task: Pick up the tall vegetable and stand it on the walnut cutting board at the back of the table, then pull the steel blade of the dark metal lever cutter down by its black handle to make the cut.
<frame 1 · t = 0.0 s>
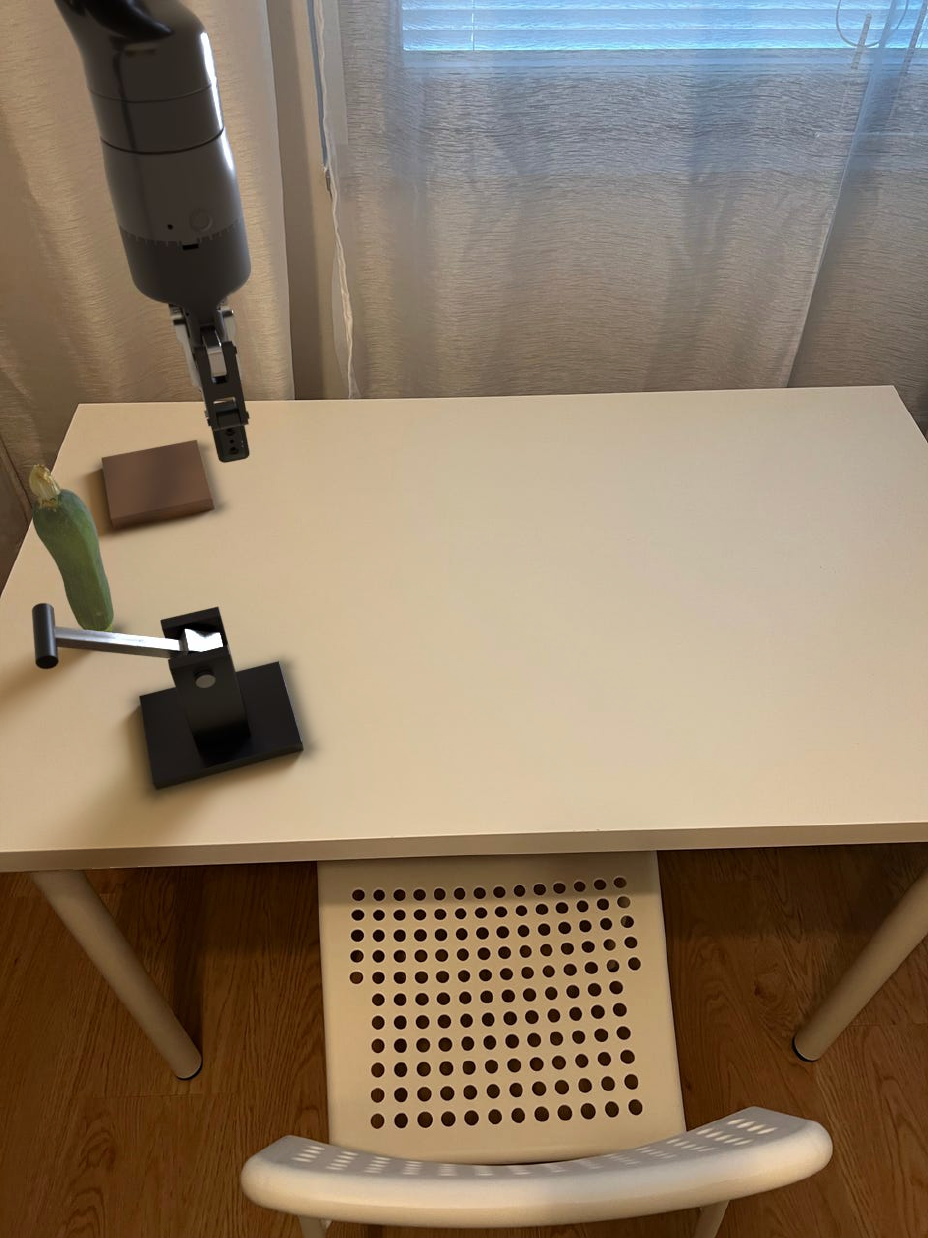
hand: (223, 422, 69), 23 cm above the table, tool pointing down, fingers open, 8 cm apart
board: (158, 488, 98), on the table
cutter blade: (130, 644, 68), point 13 cm above the table, hinge at 30.0°
vegetable: (107, 630, 86), on the table
cutter: (221, 727, 79), on the table
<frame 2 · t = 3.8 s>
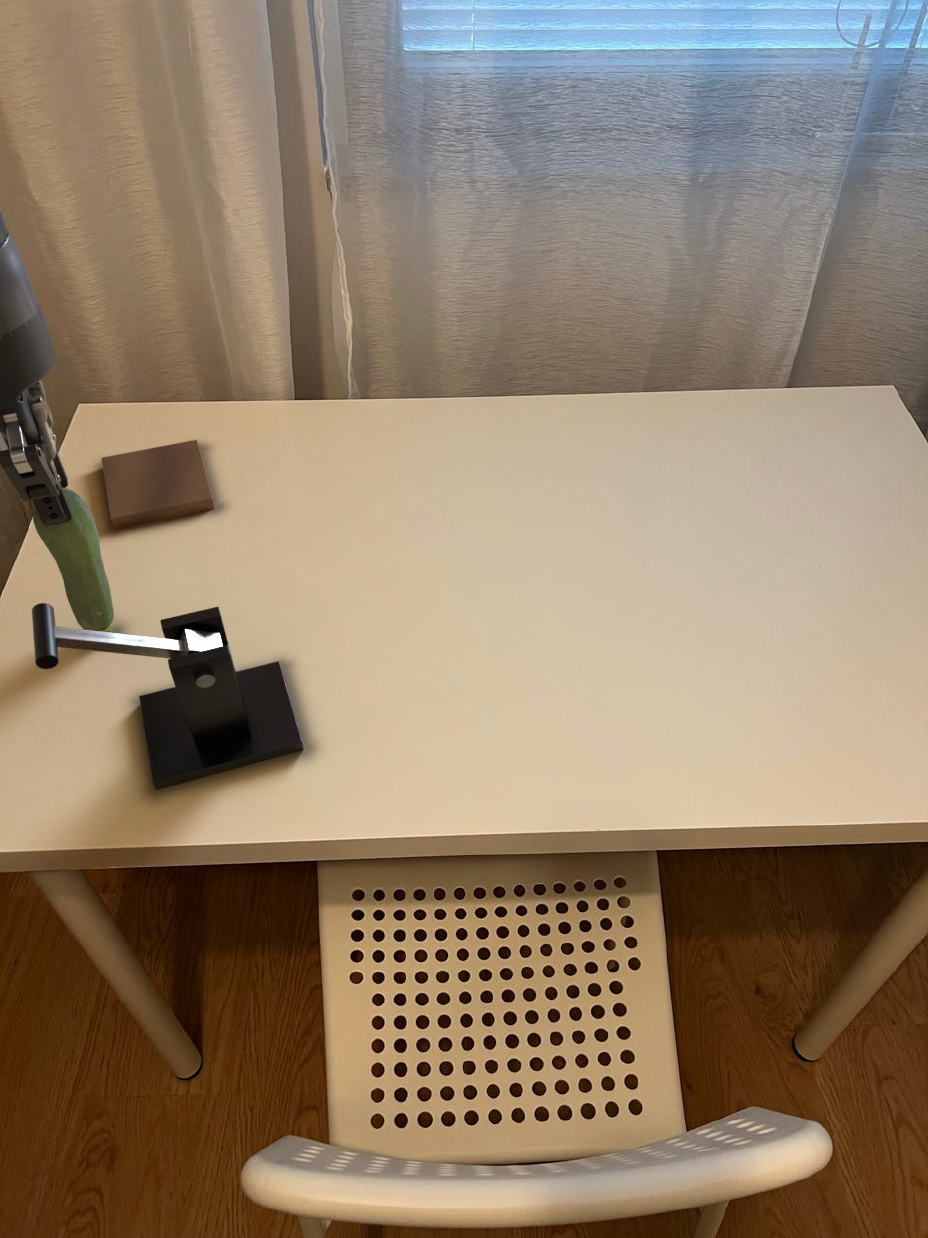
hand: (56, 503, 74), 15 cm above the table, tool pointing down, fingers closed on vegetable, 3 cm apart
vegetable: (107, 630, 86), on the table, touching gripper
everything else where it was.
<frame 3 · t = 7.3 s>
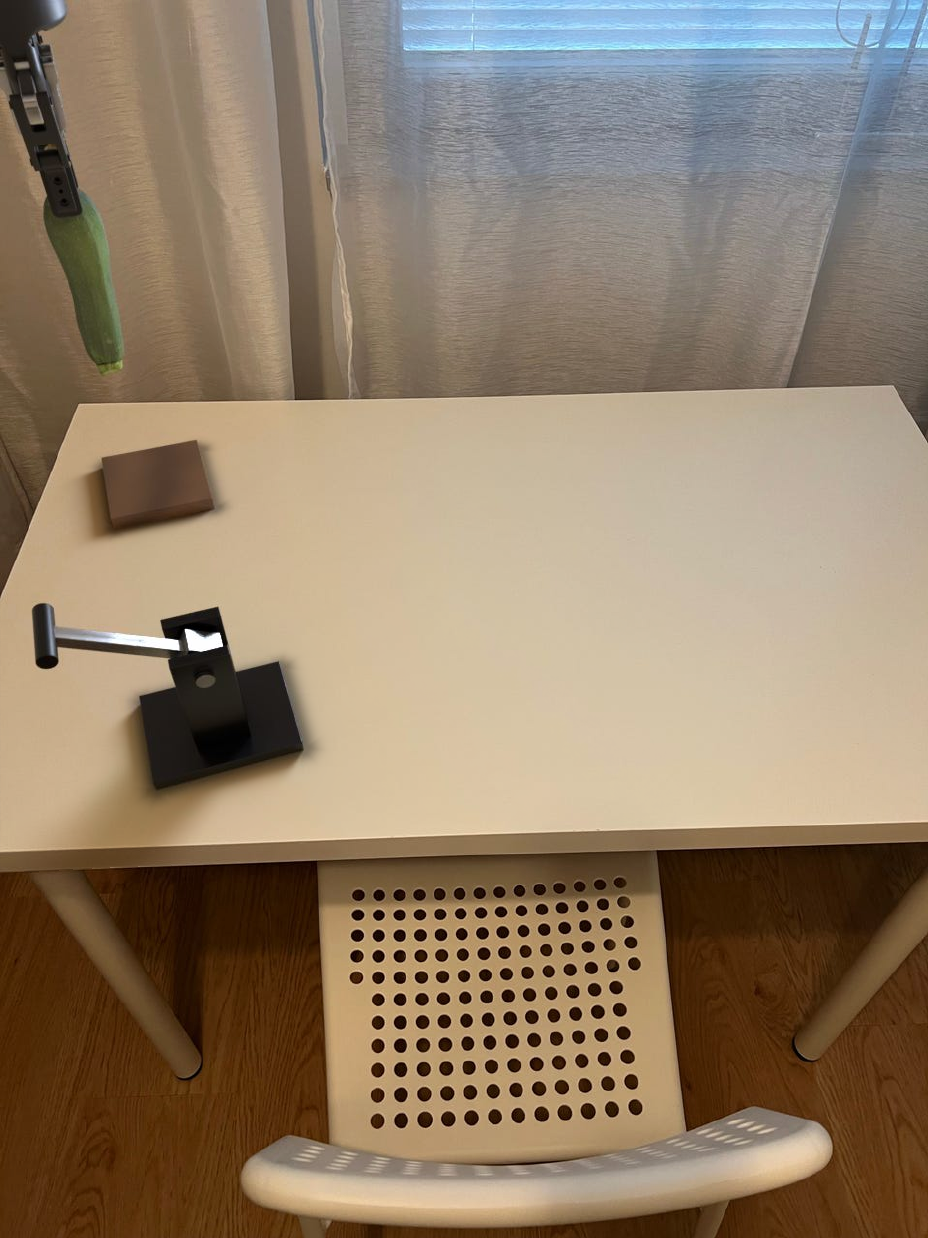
hand: (66, 201, 73), 31 cm above the table, tool pointing down, fingers closed on vegetable, 3 cm apart
vegetable: (117, 370, 85), point 16 cm above the table, touching gripper
everything else where it was.
when the fingers open (17 cm above the table, at t = 10.9 s): vegetable stays where it is, resting on board.
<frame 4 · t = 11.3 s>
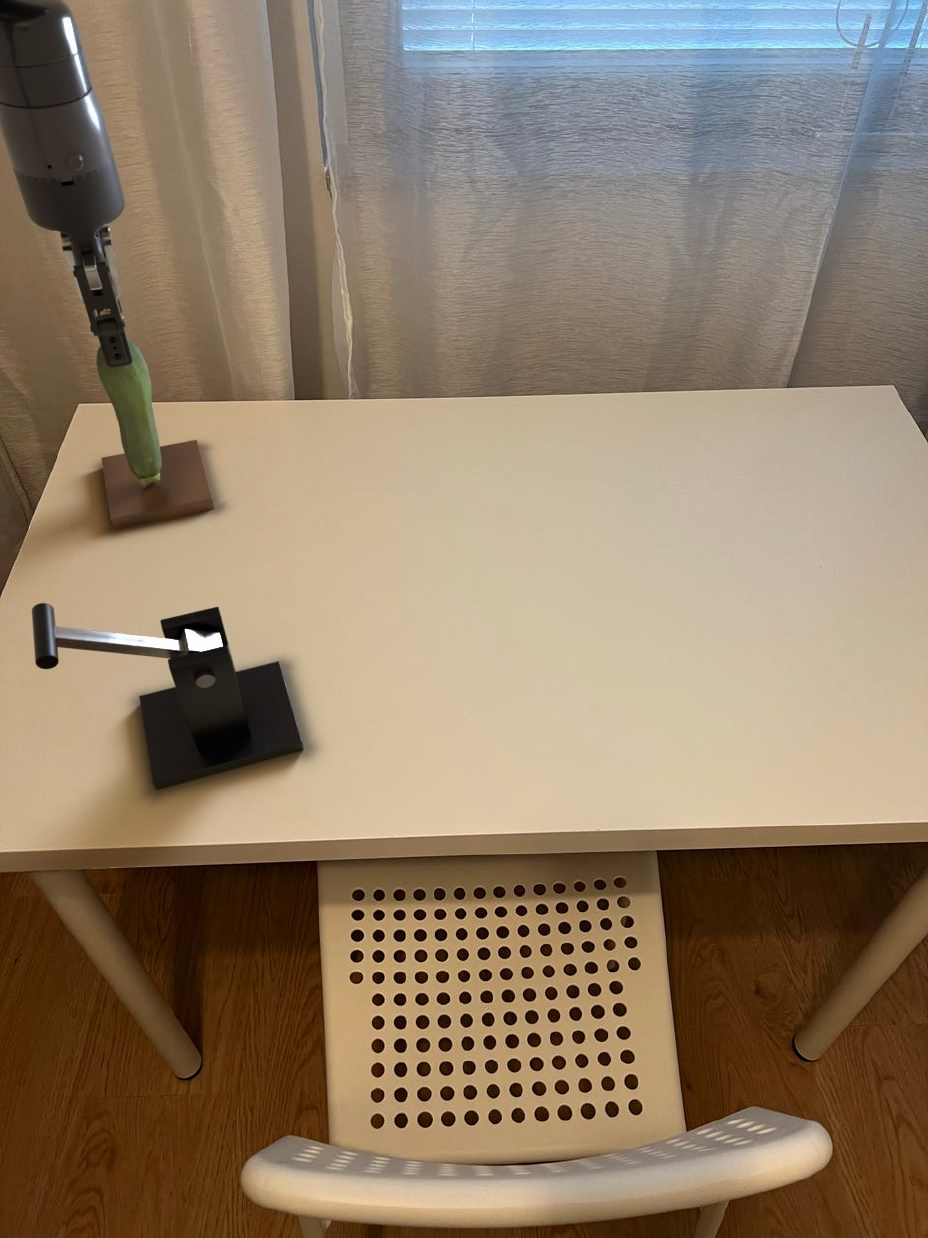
hand: (115, 338, 85), 18 cm above the table, tool pointing down, fingers open, 8 cm apart
vegetable: (155, 480, 97), point 1 cm above the table, touching board
everything else where it was.
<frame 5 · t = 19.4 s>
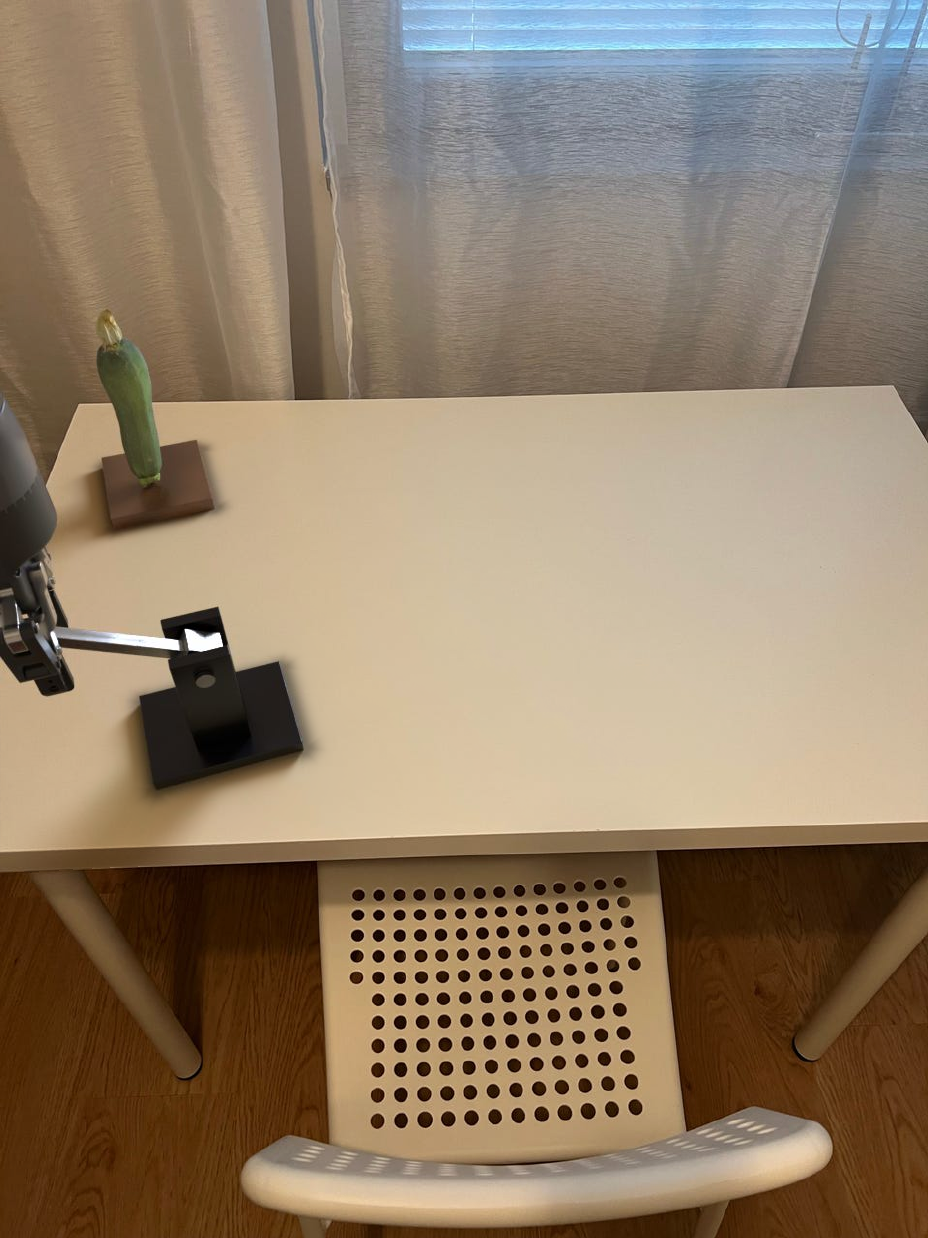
hand: (56, 658, 67), 13 cm above the table, tool pointing down, fingers closed on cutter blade, 5 cm apart
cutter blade: (130, 644, 68), point 13 cm above the table, hinge at 30.0°, touching gripper
everything else where it was.
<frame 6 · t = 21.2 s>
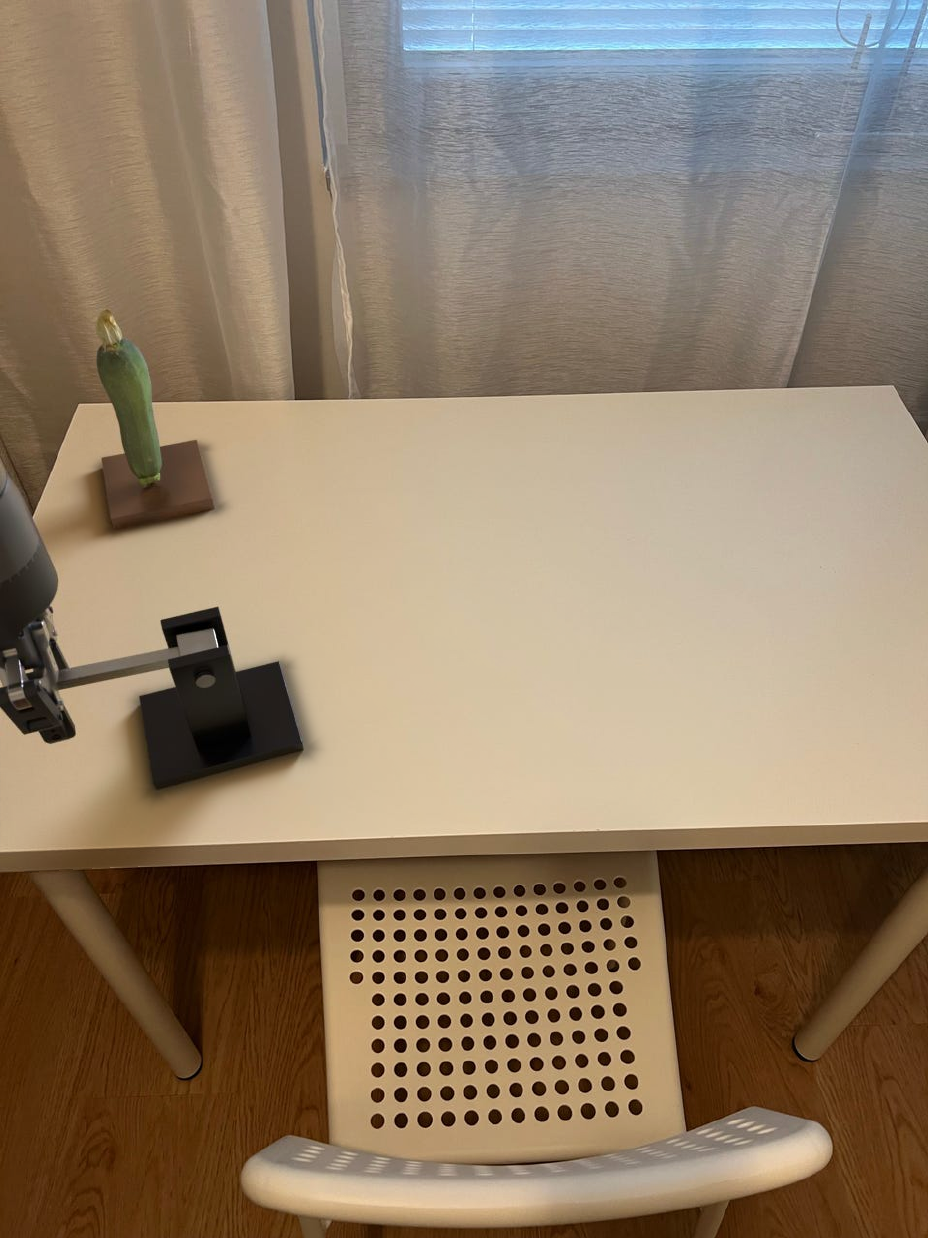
hand: (58, 706, 70), 8 cm above the table, tool pointing down, fingers closed on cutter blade, 5 cm apart
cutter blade: (128, 666, 70), point 10 cm above the table, hinge at 3.5°, touching gripper
everything else where it was.
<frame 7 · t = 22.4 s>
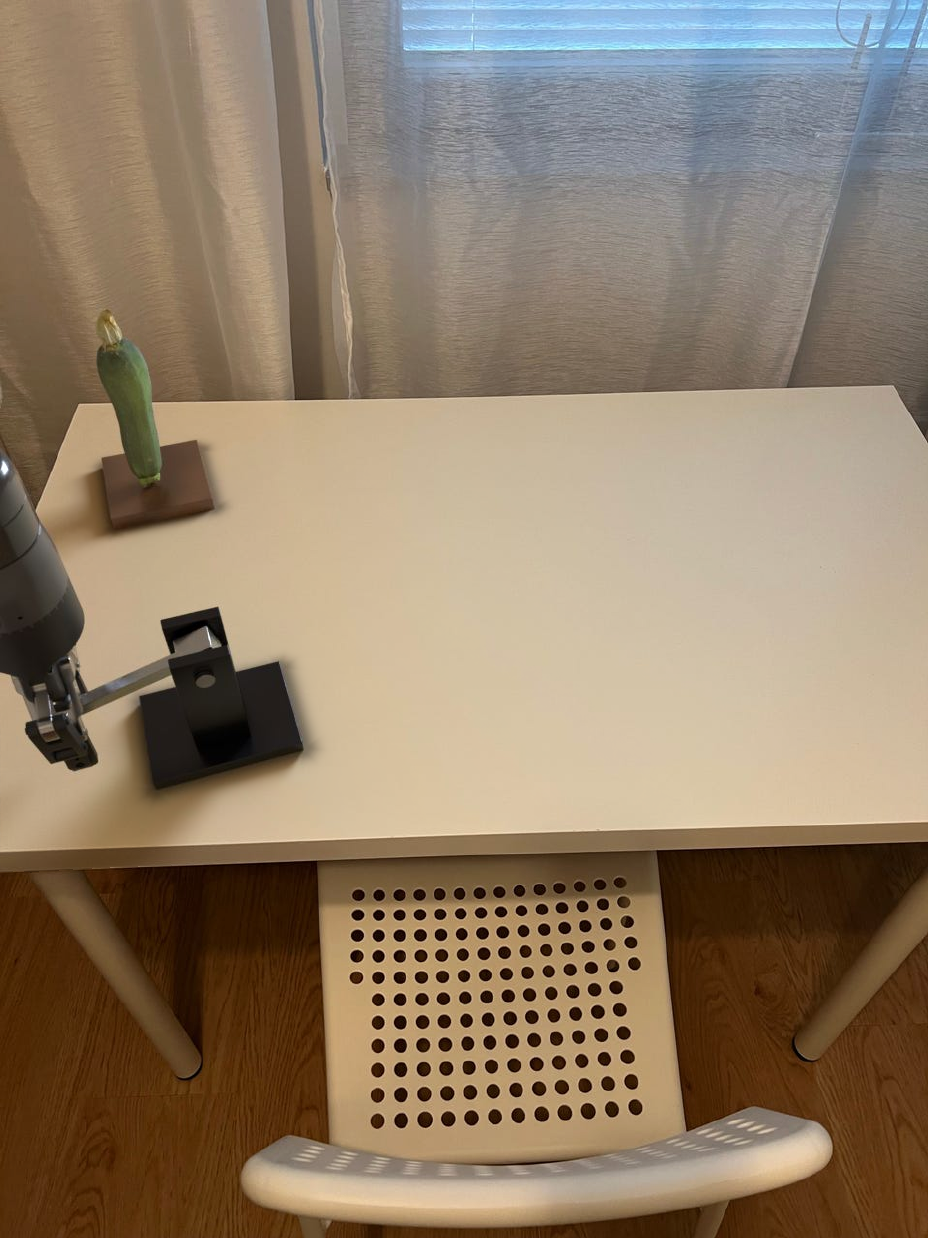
hand: (81, 734, 73), 4 cm above the table, tool pointing down, fingers closed on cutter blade, 5 cm apart
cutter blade: (137, 680, 71), point 9 cm above the table, hinge at -16.4°, touching gripper
everything else where it was.
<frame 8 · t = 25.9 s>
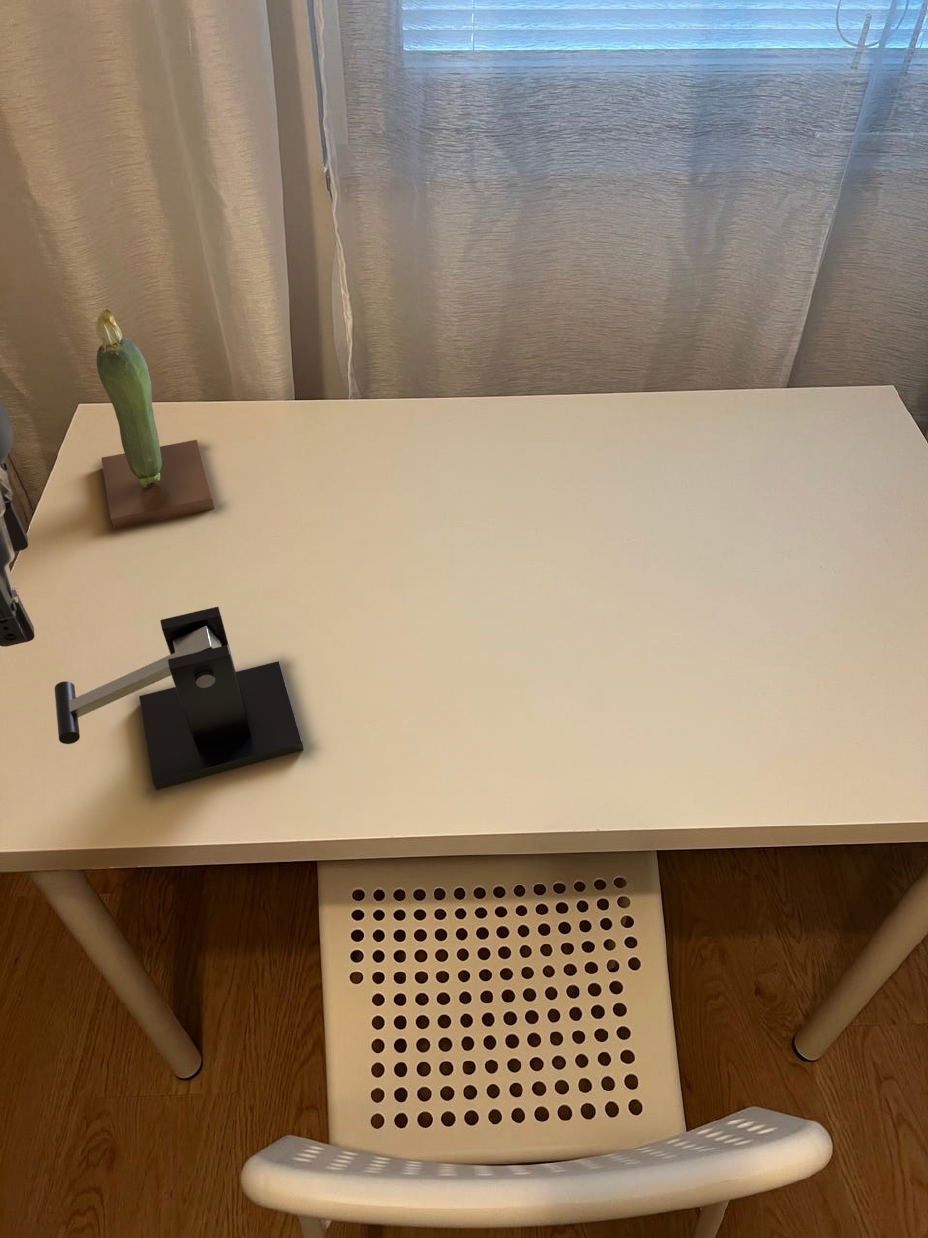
hand: (15, 592, 61), 20 cm above the table, tool pointing down, fingers open, 8 cm apart
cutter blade: (137, 680, 71), point 9 cm above the table, hinge at -16.7°
everything else where it was.
at the end: vegetable inside the target area on the board (0.2 cm from its centre), point 1.3 cm above the board's base; vegetable tilted 0°; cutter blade at -17° (first picture: +30°) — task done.
